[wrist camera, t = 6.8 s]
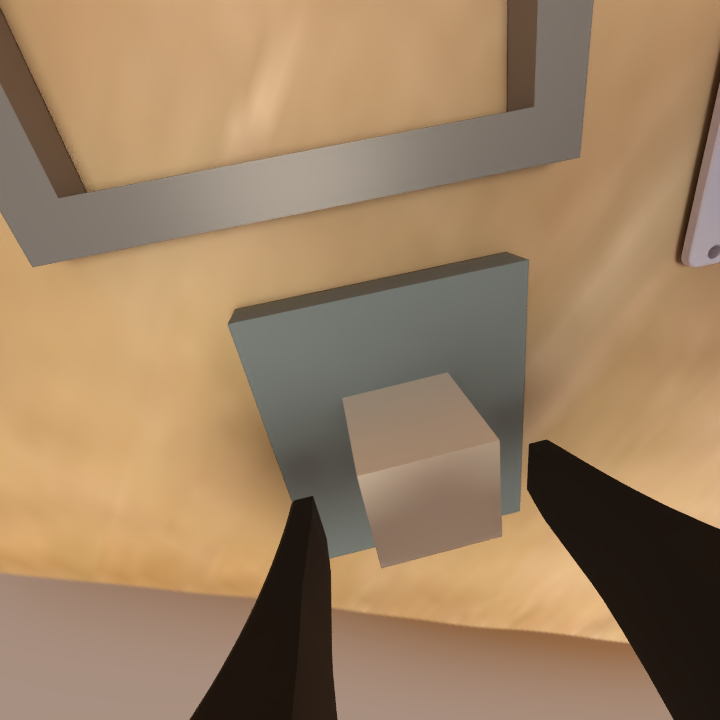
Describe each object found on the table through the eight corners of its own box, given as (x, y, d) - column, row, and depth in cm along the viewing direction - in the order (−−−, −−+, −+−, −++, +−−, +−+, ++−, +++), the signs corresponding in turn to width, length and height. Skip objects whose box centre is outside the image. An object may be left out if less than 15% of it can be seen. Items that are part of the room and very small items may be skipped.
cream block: (447, 372, 14) (499, 440, 10) (455, 454, 15) (501, 536, 12) (342, 398, 13) (357, 476, 10) (362, 477, 15) (381, 568, 12)
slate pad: (506, 252, 13) (528, 259, 12) (504, 487, 19) (520, 511, 18) (235, 309, 13) (227, 324, 12) (313, 534, 18) (314, 562, 17)
